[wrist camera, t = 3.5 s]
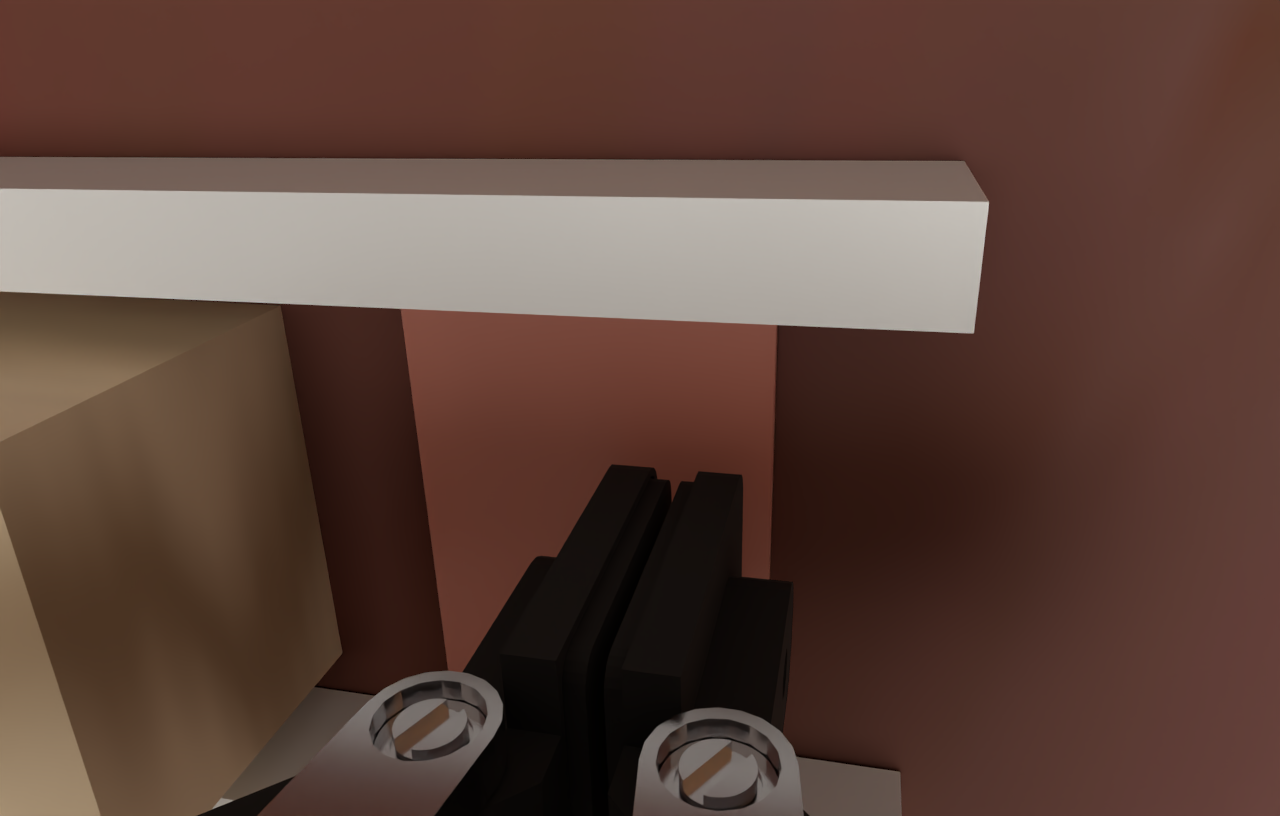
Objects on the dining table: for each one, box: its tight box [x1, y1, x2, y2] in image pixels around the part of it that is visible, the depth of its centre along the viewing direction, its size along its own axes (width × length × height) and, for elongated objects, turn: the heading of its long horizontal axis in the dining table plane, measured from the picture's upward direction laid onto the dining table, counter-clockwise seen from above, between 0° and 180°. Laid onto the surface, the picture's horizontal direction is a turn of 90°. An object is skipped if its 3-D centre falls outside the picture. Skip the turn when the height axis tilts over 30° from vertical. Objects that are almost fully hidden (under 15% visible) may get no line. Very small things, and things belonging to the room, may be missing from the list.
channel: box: [0, 157, 989, 816], centre depth 13 cm, size 10×20×2 cm, turn 92°
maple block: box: [0, 292, 342, 816], centre depth 13 cm, size 6×6×5 cm
